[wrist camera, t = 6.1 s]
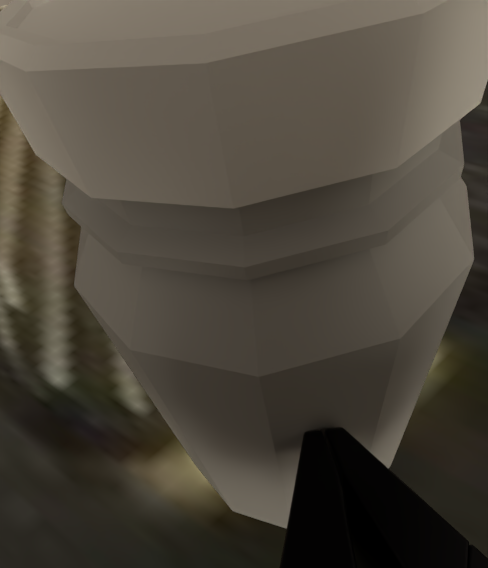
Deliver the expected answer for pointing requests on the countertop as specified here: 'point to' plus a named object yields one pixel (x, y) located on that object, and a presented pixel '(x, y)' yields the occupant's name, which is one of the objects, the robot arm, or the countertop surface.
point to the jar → (260, 207)
